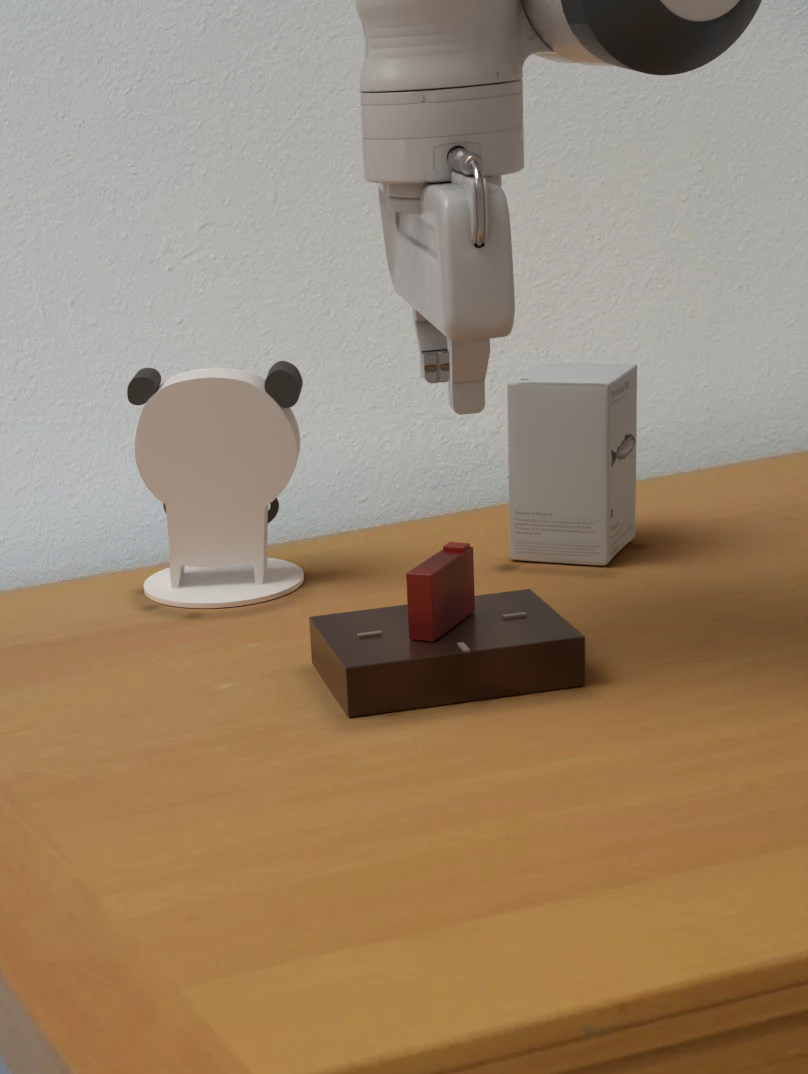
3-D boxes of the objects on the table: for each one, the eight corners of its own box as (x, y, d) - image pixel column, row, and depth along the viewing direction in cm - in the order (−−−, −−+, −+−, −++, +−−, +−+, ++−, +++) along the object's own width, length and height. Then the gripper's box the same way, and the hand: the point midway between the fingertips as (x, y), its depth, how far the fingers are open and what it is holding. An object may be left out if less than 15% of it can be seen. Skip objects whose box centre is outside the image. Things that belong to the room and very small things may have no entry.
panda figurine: (317, 556, 133) (304, 348, 127) (309, 603, 123) (294, 379, 117) (154, 564, 134) (134, 359, 128) (133, 611, 124) (110, 390, 118)
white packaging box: (608, 567, 125) (609, 383, 120) (506, 561, 129) (502, 381, 124) (638, 539, 131) (640, 361, 126) (540, 533, 135) (538, 360, 130)
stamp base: (530, 634, 114) (529, 585, 113) (586, 686, 105) (586, 634, 103) (311, 662, 112) (308, 613, 111) (348, 718, 103) (345, 665, 101)
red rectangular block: (433, 642, 104) (431, 570, 103) (408, 639, 105) (405, 568, 103) (475, 611, 109) (473, 542, 107) (451, 608, 110) (448, 540, 108)
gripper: (542, 149, 90) (546, 427, 96) (465, 127, 109) (472, 360, 115) (416, 160, 90) (427, 438, 96) (360, 136, 109) (373, 370, 114)
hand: (451, 395), depth 105 cm, fingers open, 8 cm apart
